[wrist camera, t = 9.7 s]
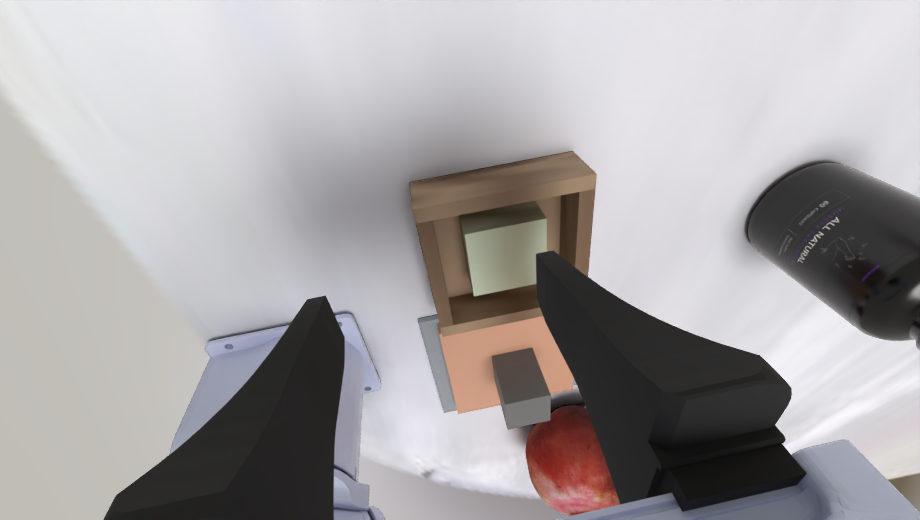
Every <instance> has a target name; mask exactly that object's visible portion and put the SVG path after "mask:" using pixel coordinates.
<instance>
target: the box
mask: <svg viewBox="0 0 920 520" xmlns="http://www.w3.org/2000/svg"><path fill="white" fill-rule="evenodd" d="M595 186H596V173H595V172H594V171H593V170H592V169H591V168H590V167H589V166H588V165H587V164H586V163H585V162H584V161H583V160H581V159H580V158H579V157H578V156H577V155H576V154H575V153H574V152H573V151H572V152H566V153H561V154H556V155H551V156H545V157H540V158H535V159H529V160H524V161H519V162H514V163H508V164H503V165H498V166H493V167H487V168H482V169H477V170H471V171H466V172H461V173H456V174H450V175H445V176H440V177H435V178H429V179H424V180H419V181H413V182H410V191H411V200H412V209H413V213H414V218H415V222H416V226H417V230H418V235H419V239H420V243H421V247H422V252H423V256H424V260H425V264H426V269H427V273H428V277H429V281H430V286H431V290H432V294H433V298H434V303H435V307H436V311H437V315H438V319H439V324H440V328H441V332H442V336H443V337H445V336H450V335H455V334H459V333H464V332H469V331H474V330H479V329H484V328H488V327H493V326H498V325H503V324H508V323H513V322H517V321H522V320H527V319H532V318H537V317H542V316H543V314H542V312H541V309H540V306H539V303H538V300H537V289H536V254H537V253H542V252H547V251H552V250H554V251H555V252H556V253H558V254H559V255H560V256H561V257H563V258H564V259H565V260H566V261H568V262H569V263H570V264H572V265H573V266H574V267H575V268H577V269H578V270H579V271H581V272H582V273H583V274H585V275H586V276H587V277H588V269H589V257H590V245H591V233H592V221H593V210H594V198H595Z"/></svg>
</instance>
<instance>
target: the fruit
mask: <svg viewBox="0 0 920 520" xmlns="http://www.w3.org/2000/svg"><path fill="white" fill-rule="evenodd" d="M526 459H527V464H528V469H529V474H530V478H531V481H532V483H533V485H534V488H535V489H536V491H537V493H538V494H539V495H540V497H541V498H542V499H543V501H544V502H545V503H546V504H547V505H548V506H550V507H551V508H553V509H554V510H557V511H559V512H562V513H564V514H566V515H568V516H572V515H577V514H581V513H585V512H590V511H594V510H599V509H603V508H607V507H612V506H616V505H620V502H619V499H618V496H617V493H616V490H615V487H614V484H613V481H612V478H611V475H610V472H609V469H608V466H607V463H606V461H605V458H604V455H603V452H602V449H601V446H600V444H599V441H598V438H597V435H596V433H595V430H594V427H593V425H592V422H591V419H590V417H589V414H588V411H587V409H586V406H585V404H584V401H583V403H582V404H580V405H569V406H563V407H560V408H558V409H556V410H554V411H553V412H552V413H551V414H550V421H545V422H540V423H537V424H536V425H535V426H534V427H533V429H532V430H531V432H530V434H529V436H528V438H527V443H526Z"/></svg>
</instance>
